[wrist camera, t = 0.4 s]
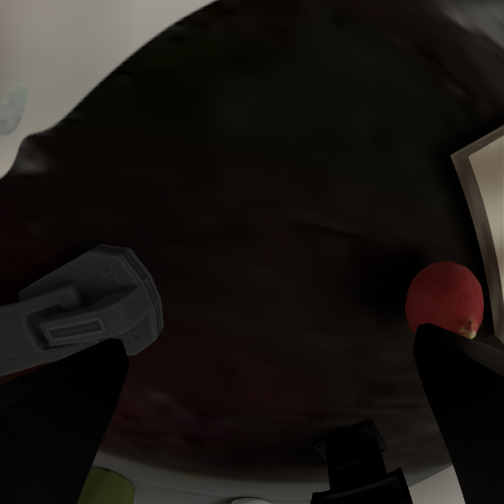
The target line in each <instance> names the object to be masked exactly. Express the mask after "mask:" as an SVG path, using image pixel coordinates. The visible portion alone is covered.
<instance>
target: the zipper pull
mask: <svg viewBox="0 0 504 504" xmlns="http://www.w3.org/2000/svg"><path fill="white" fill-rule="evenodd" d="M19 298H20V302H16V303H12V304H8V305H4V306H0V377H1V376H4V375H8V374H11V373H14V372H18V371H21V370H24V369H27V368H31V367H34V366H37V365H40V364H43V363H47V362H51V361H56V360H60V359H63V358H65V357H67V356H70V355H72V354H74V353H77V352H79V351H81V350H84V349H86V348H88V347H90V346H93V345H95V344H97V343H100V342H102V341H104V340H106V339H109V338H115V339H120V340H122V342H123V344H124V347H125V350H126V353H127V355H136V354H138V353H139V352H141V351H142V350H143V349H145V348H146V347H147V346H149V345H150V344H152V343H153V342H154V341H155V340H156V339H157V337H158V335H159V334H160V332H161V331H162V329H163V327H164V322H163V313H162V302H161V297H160V295H159V293H158V290H157V288H156V285H155V283H154V280H153V278H152V276H151V274H150V272H149V271H148V270H147V269H146V267H145V266H144V265H143V264H142V262H141V261H140V260H139V258H138V257H137V256H136V254H135V253H134V252H133V250H132V249H131V248H127V247H119V246H111V245H104V244H100V245H98V246H96V247H95V248H93V249H91V250H89V251H88V252H86V253H84V254H83V255H81V256H79V257H77V258H76V259H74V260H72V261H70V262H69V263H67V264H65V265H63V266H62V267H60V268H58V269H56V270H54V271H53V272H51V273H49V274H48V275H46V276H44V277H42V278H41V279H39V280H37V281H36V282H34V283H32V284H31V285H29V286H28V287H26V288H25V289H23V290H22V291H20V292H19Z"/></svg>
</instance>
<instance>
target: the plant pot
mask: <svg viewBox="0 0 504 504" xmlns="http://www.w3.org/2000/svg"><path fill="white" fill-rule="evenodd" d="M134 495H135V489H134V487H133V485H132V484H131V483H130V482H129V481H128V480H127V479H125V478H124V477H122V476H121V475H119V474H117V473H115V472H112V471H106V470H104V469H103V468H94V469H93V470H92V471H91V472H90V474H89V475H88V476H87V479H86V482H85V484H84V487H83V490H82V492H81V495H80V498H79V500H78V503H77V504H133V501H134Z"/></svg>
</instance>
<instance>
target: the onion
mask: <svg viewBox="0 0 504 504" xmlns="http://www.w3.org/2000/svg"><path fill="white" fill-rule="evenodd" d="M483 309H484V301H483V294H482V288H481V285H480V283H479V281H478V280H477V278H476V277H475V276H474V275H473V273H472V272H471V271H470V270H469V269H468V268H466V267H465V266H462V265H459V264H457V263H454V262H451V261H442V262H436V263H432V264H431V265H429V266H427V267H425V268H423V269H422V270H421V271H420V272H419V273H418V274H417V275H416V276H415V277H414V278H413V280H412V282H411V285H410V287H409V289H408V292H407V298H406V304H405V312H406V316H407V320H408V324H409V327H410V329H411V330H412V331H413V332H414V333H415V334H416V329H417V327H418V326H419V325H420V324H426V323H432V324H434V325H437V326H440V327H442V328H445V329H447V330H450V331H452V332H455V333H457V334H460V335H462V336H465V337H467V338H470V339H472V338H474V337H475V336H476V332H477V330H478V328H479V326H480V324H481V322H482V319H483Z"/></svg>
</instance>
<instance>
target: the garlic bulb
mask: <svg viewBox="0 0 504 504" xmlns="http://www.w3.org/2000/svg"><path fill="white" fill-rule="evenodd" d="M231 504H271V503H270V502H269V501H267V500H264V499H260V498H251V497H247V498H240V499H236V500H234V501H233V502H232V503H231Z"/></svg>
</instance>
